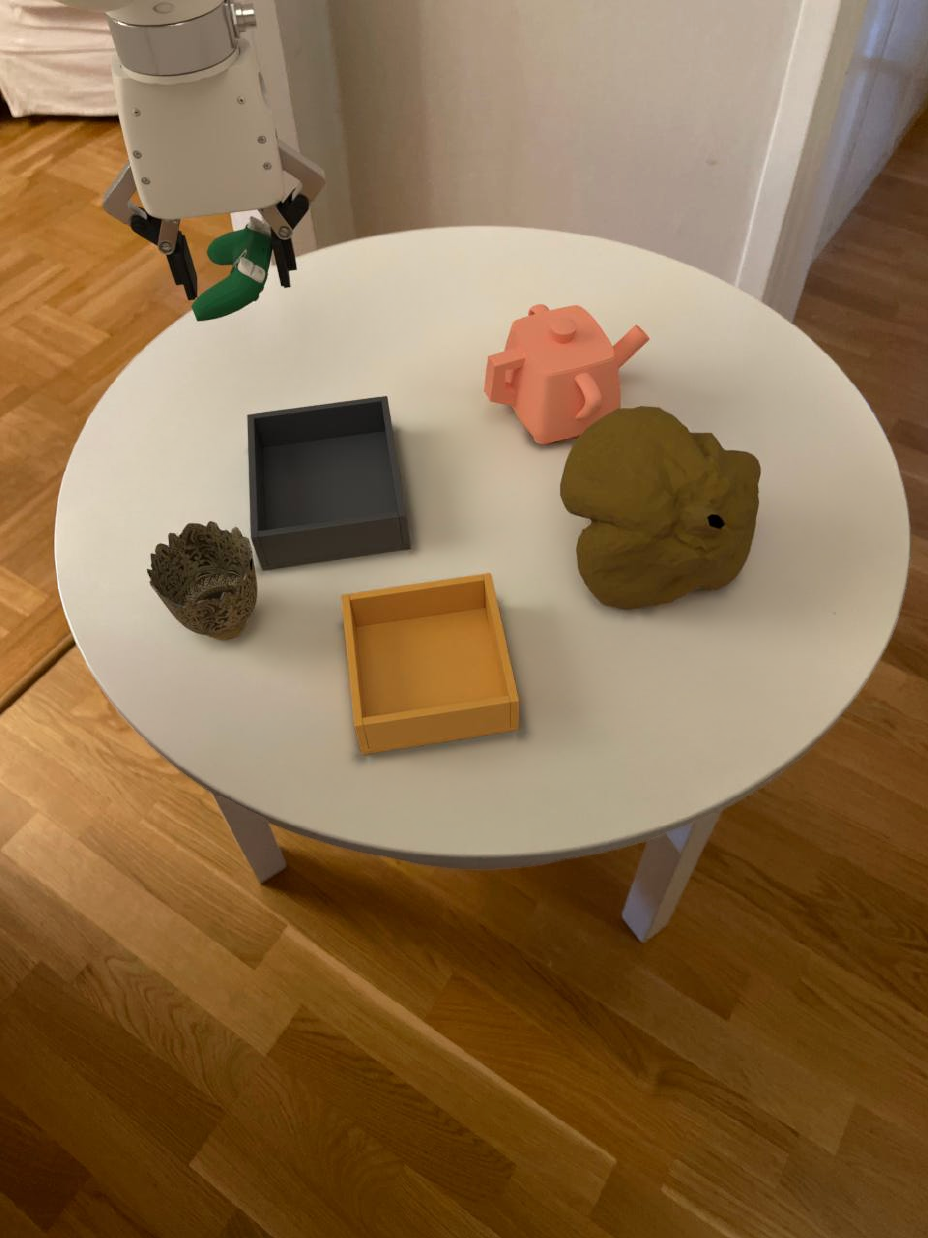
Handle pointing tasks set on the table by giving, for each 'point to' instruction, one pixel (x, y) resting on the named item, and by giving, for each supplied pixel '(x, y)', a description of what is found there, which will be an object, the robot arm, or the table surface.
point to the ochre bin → (428, 664)
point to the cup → (206, 579)
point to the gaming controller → (237, 270)
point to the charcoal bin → (325, 483)
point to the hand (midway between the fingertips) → (238, 281)
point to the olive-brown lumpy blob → (658, 508)
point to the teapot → (559, 371)
